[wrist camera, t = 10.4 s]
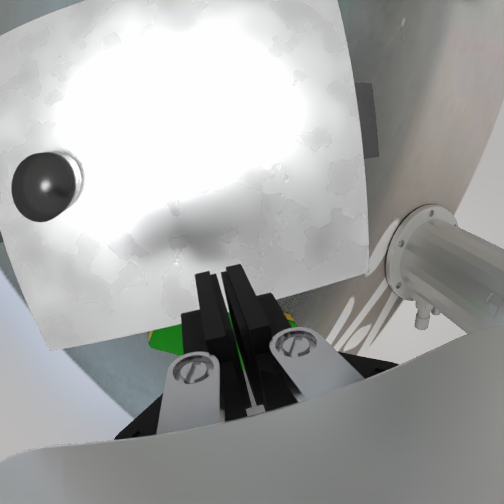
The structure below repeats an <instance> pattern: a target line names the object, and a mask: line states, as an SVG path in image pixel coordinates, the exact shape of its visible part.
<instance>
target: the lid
mask: <svg viewBox="0 0 504 504" xmlns="http://www.w3.org/2000/svg"><path fill="white" fill-rule="evenodd" d="M0 231H1V234H2V237H3V240H4V243H5V247H6V250H7V252H8V255H9V258H10V261H11V264H12V267H13V269H14V272H15V275H16V277H17V280H18V282H19V285H20V287H21V290H22V292H23V295H24V297H25V299H26V302H27V304H28V306H29V309H30V311H31V313H32V315H33V317H34V320H35V322H36V324H37V326H38V328H39V330H40V332H41V334H42V336H43V338H44V340H45V342H46V344H47V346H48V348H49V350H50V351H53V350H58V349H64V348H69V347H75V346H80V345H85V344H90V343H95V342H100V341H105V340H110V339H115V338H120V337H125V336H129V335H134V334H138V333H143V332H148V331H152V330H157V329H161V328H165V327H170V326H174V325H178V324H181V313H185V312H190V311H194V310H199V309H200V307H199V301H198V294H197V287H196V281H195V274H197V273H202V272H206V271H210V275H211V274H215V273H216V275H217V278H218V281H219V285H220V288H221V292H222V295H223V298H224V302H225V305H226V308H227V312H229V308H228V304H227V299H226V295H225V290H224V286H223V281H222V276H221V272H224V271H226V267H228V266H232V265H237V264H241V265H242V267H243V269H244V271H245V274H246V276H247V278H248V280H249V282H250V284H251V286H252V288H253V290H254V292H255V294H256V296H258V295H262V294H266V293H270V292H271V293H272V294H273V296H274V297H275V299H280V298H284V297H287V296H291V295H294V294H298V293H301V292H305V291H308V290H312V289H315V288H319V287H322V286H326V285H329V284H332V283H336V282H339V281H342V280H346V279H349V278H352V277H355V276H359V275H362V274H365V273H368V272H369V234H368V210H367V193H366V179H365V167H364V156H363V146H362V137H361V128H360V120H359V112H358V105H357V98H356V92H355V85H354V79H353V73H352V67H351V62H350V56H349V51H348V46H347V41H346V36H345V32H344V27H343V23H342V18H341V14H340V10H339V6H338V2H337V0H86V1H83V2H80V3H77V4H74V5H71V6H68V7H66V8H63V9H60V10H57V11H55V12H52V13H50V14H47V15H45V16H42V17H40V18H37V19H35V20H33V21H31V22H28V23H26V24H24V25H22V26H20V27H17V28H15V29H13V30H11V31H9V32H7V33H5V34H3V35H1V36H0Z"/></svg>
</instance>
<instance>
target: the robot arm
mask: <svg viewBox="0 0 504 504" xmlns="http://www.w3.org/2000/svg"><path fill="white" fill-rule="evenodd" d="M221 276H222V281H223V286H224V290H225V295H226V299H227V304H228V308H229V313H230V317H231V322H232V325H231V322H230V318H229V315H228V312H227V308H226V305H225V302H224V298H223V295H222V292H221V288H220V285H219V281H218V278H217V275H216V273H215V274H211V275H210V271H206V272H202V273H197V274H195V281H196V287H197V294H198V301H199V307H200V309H199V310H194V311H190V312H185V313H181V326H182V341H183V354H184V355H182V356H180V357H179V358H177V359H176V360H174V361H173V362H172V364H171V365H170V366H169V368H168V371H167V375H166V381H165V386H164V392H163V394H162V395H161V396H160V397H159V398H157V399H156V400H155V401H154V402H153V403H152V404H151V405H150V406H149V407H148V408H147V409H145V410H144V411H143V412H142V413H141V414H140V415H139V416H138V417H137V418H135V419H134V420H133V421H132V422H131V423H130V424H129V425H128V426H127V427H126V428H124V429H123V430H122V431H121V432H120V433H119V434H118V435H117V436H116V437H115V439H114V440H109V441H96V442H86V443H75V444H61V445H51V446H44V447H39V448H34V449H29V450H25V451H23V452H20V453H17V454H14V455H11V456H9V457H7V458H6V459H4V460H2V461H1V462H0V504H504V249H502V248H500V247H498V246H496V245H494V244H492V243H490V242H488V241H486V240H484V239H482V238H480V237H477V236H475V235H473V234H471V233H469V232H467V231H465V230H463V229H460V228H458V225H457V221H456V219H455V217H454V216H453V214H452V213H451V212H450V211H449V210H447V209H446V208H444V207H441V206H439V205H433V204H430V205H425V206H422V207H420V208H418V209H416V210H415V211H413V212H412V213H411V214H410V215H409V216H408V217H407V218H406V219H405V220H404V221H403V222H402V224H401V225H400V226H399V228H398V229H397V231H396V233H395V235H394V236H393V239H392V241H391V244H390V246H389V250H388V254H387V259H386V277H387V281H388V284H389V286H390V288H391V289H392V290H393V291H394V293H395V294H397V295H398V296H399V297H401V298H403V299H405V300H411V301H413V300H415V301H416V308H417V309H418V313H417V314H416V320H415V327H416V328H417V329H419V330H425V329H427V328H428V324H429V319H430V311H431V313H432V314H433V315H439V314H440V312H441V313H442V314H443V315H445V316H446V317H447V318H449V319H450V320H451V321H452V322H454V323H455V324H456V325H457V326H459V327H460V328H461V329H462V330H464V331H465V332H466V333H467V335H464V336H462V337H460V338H457V339H455V340H453V341H451V342H449V343H446V344H444V345H442V346H440V347H438V348H435V349H433V350H431V351H429V352H426V353H425V354H423V355H420V356H418V357H416V358H414V359H412V360H409V361H407V362H405V363H402V364H400V365H399V364H396V363H392V362H388V361H382V360H377V359H371V358H366V357H361V356H356V355H351V354H347V353H342V352H337V351H336V350H335V349H334V348H333V347H332V346H331V345H330V344H329V343H328V342H327V341H326V340H325V339H324V338H323V337H322V336H321V335H320V334H319V333H317V332H316V331H314V330H312V329H309V328H304V327H294V328H292V326H291V325H290V323H289V321H288V320H287V318H286V316H285V314H284V313H283V311H282V309H281V308H280V306H279V304H278V303H277V301H276V299H275V297H274V296H273V294H272V293H271V292H270V293H266V294H262V295H258V296H256V294H255V292H254V290H253V288H252V286H251V284H250V282H249V280H248V278H247V276H246V274H245V271H244V269H243V267H242V265H241V264H237V265H232V266H228V267H226V271H224V272H221ZM232 326H233V328H232ZM233 331H234V332H233ZM236 342H237V343H236ZM237 345H238V348H237ZM238 349H239V352H240V355H241V358H242V361H243V365H244V368H245V371H246V374H247V377H248V380H249V383H250V386H251V389H252V392H253V395H254V398H255V401H256V404H257V406H258V405H262V404H263V405H264V408H265V411H266V412H263V413H259V414H255V415H252V416H248V417H247V413H246V409H247V408H250V407H252V406H251V402H250V398H249V394H248V390H247V386H246V381H245V377H244V373H243V369H242V365H241V360H240V356H239V352H238Z"/></svg>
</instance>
